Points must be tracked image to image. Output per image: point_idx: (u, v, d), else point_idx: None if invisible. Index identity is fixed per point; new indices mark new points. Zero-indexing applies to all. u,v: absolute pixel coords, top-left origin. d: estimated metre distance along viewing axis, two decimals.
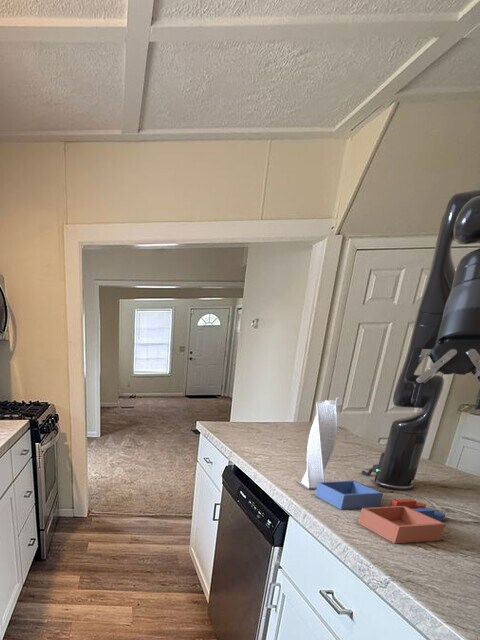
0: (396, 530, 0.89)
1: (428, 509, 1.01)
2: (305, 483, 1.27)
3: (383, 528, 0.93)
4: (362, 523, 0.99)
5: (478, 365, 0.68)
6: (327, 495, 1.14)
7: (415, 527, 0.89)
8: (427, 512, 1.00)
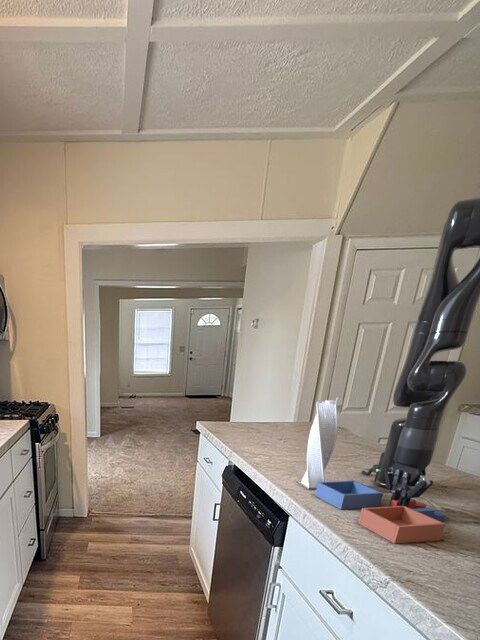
0: (396, 530, 0.89)
1: (428, 509, 1.01)
2: (305, 483, 1.27)
3: (383, 528, 0.93)
4: (362, 523, 0.99)
5: (403, 483, 1.03)
6: (327, 495, 1.14)
7: (415, 527, 0.89)
8: (427, 512, 1.00)
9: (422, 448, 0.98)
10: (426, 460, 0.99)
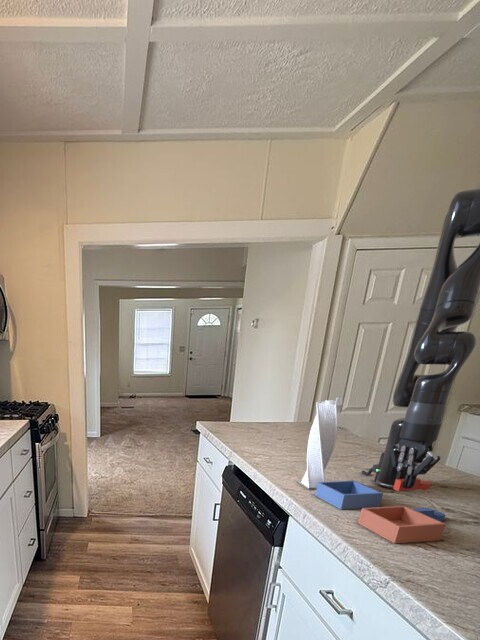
0: (396, 530, 0.89)
1: (428, 509, 1.01)
2: (305, 483, 1.27)
3: (383, 528, 0.93)
4: (362, 523, 0.99)
5: (409, 460, 1.01)
6: (327, 495, 1.14)
7: (415, 527, 0.89)
8: (427, 512, 1.00)
9: (429, 423, 0.95)
10: (433, 435, 0.97)
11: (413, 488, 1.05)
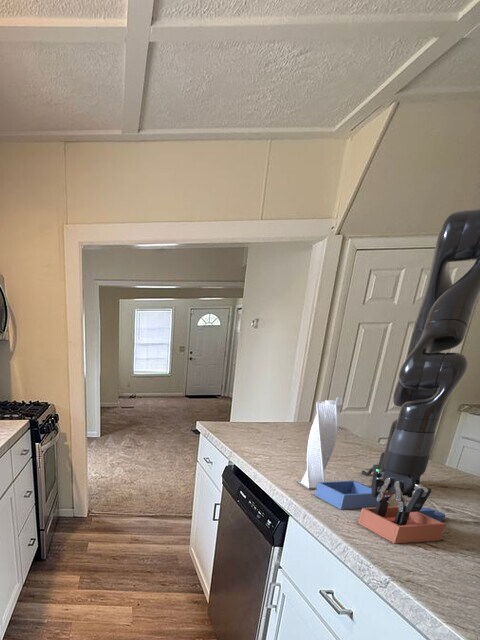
0: (396, 530, 0.89)
1: (428, 509, 1.01)
2: (305, 483, 1.27)
3: (383, 528, 0.93)
4: (362, 523, 0.99)
5: (397, 495, 0.90)
6: (327, 495, 1.14)
7: (415, 527, 0.89)
8: (427, 512, 1.00)
9: (416, 454, 0.85)
10: (421, 468, 0.86)
11: None
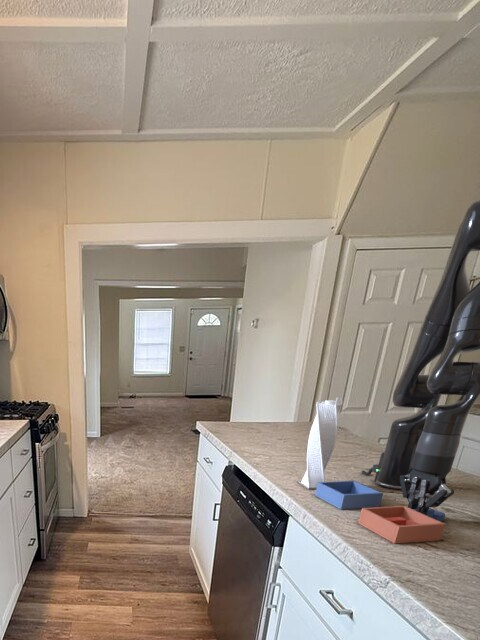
0: (396, 530, 0.89)
1: (428, 509, 1.01)
2: (305, 483, 1.27)
3: (383, 528, 0.93)
4: (362, 523, 0.99)
5: (421, 492, 0.97)
6: (327, 495, 1.14)
7: (415, 527, 0.89)
8: (427, 512, 1.00)
9: (443, 455, 0.92)
10: (447, 467, 0.93)
11: None
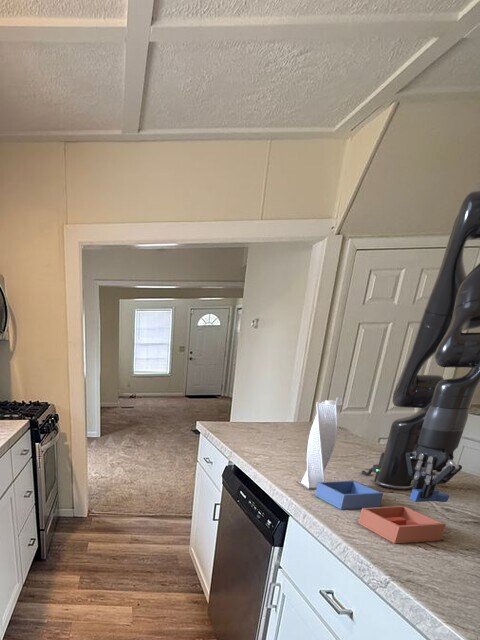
0: (396, 530, 0.89)
1: None
2: (305, 483, 1.27)
3: (383, 528, 0.93)
4: (362, 523, 0.99)
5: (428, 469, 0.95)
6: (327, 495, 1.14)
7: (415, 527, 0.89)
8: None
9: (450, 429, 0.90)
10: (454, 443, 0.91)
11: None
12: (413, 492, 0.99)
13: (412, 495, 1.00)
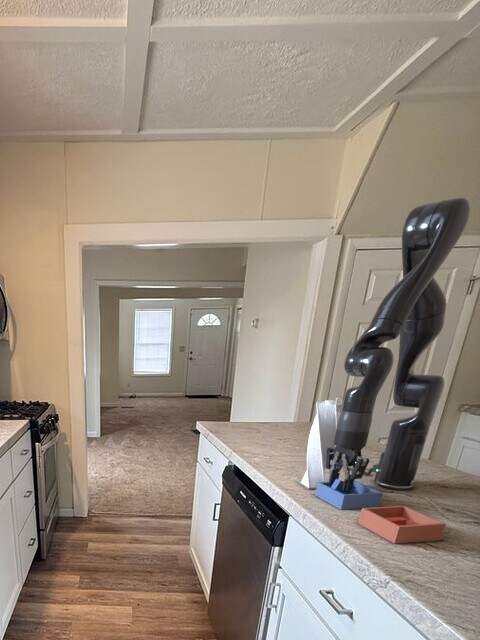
0: (396, 530, 0.89)
1: None
2: (305, 483, 1.27)
3: (383, 528, 0.93)
4: (362, 523, 0.99)
5: (344, 465, 1.08)
6: (327, 495, 1.14)
7: (415, 527, 0.89)
8: None
9: (357, 430, 1.03)
10: (361, 442, 1.04)
11: None
12: (335, 481, 1.12)
13: (334, 483, 1.12)
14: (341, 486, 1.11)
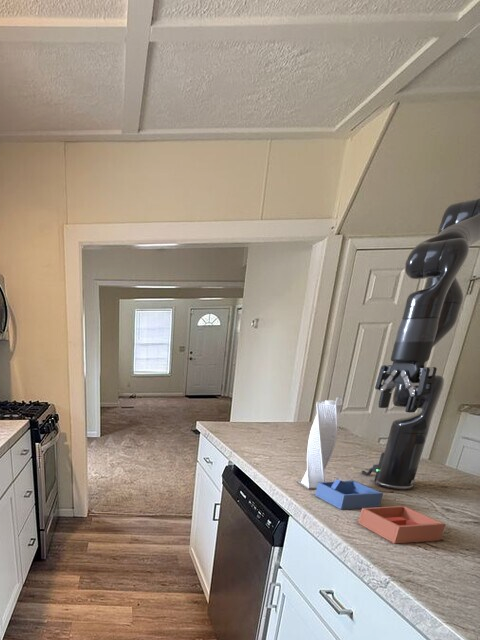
0: (396, 530, 0.89)
1: None
2: (305, 483, 1.27)
3: (383, 528, 0.93)
4: (362, 523, 0.99)
5: (406, 382, 0.96)
6: (327, 495, 1.14)
7: (415, 527, 0.89)
8: (349, 486, 1.12)
9: (421, 340, 0.92)
10: (425, 354, 0.93)
11: None
12: (335, 481, 1.12)
13: (334, 483, 1.12)
14: (341, 486, 1.11)
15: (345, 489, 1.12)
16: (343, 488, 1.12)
